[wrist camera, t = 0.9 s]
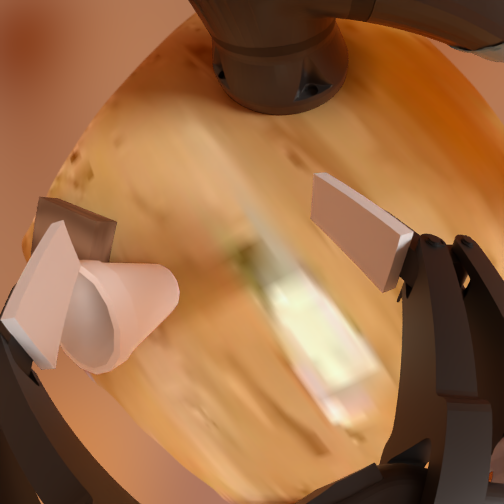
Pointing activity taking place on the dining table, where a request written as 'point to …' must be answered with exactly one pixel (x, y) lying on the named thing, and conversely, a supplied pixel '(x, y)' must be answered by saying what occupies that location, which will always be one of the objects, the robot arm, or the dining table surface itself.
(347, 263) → the dining table surface
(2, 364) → the robot arm
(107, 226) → the walnut plinth
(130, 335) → the foam cup
